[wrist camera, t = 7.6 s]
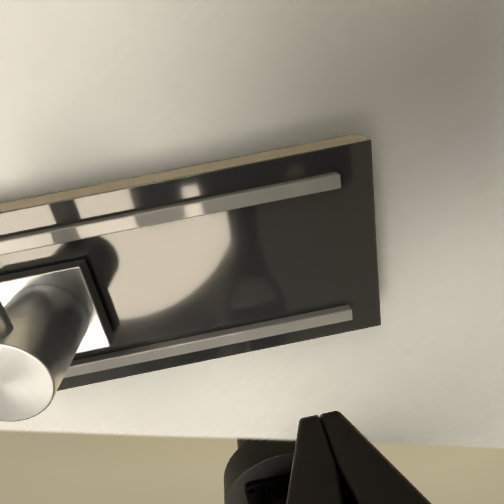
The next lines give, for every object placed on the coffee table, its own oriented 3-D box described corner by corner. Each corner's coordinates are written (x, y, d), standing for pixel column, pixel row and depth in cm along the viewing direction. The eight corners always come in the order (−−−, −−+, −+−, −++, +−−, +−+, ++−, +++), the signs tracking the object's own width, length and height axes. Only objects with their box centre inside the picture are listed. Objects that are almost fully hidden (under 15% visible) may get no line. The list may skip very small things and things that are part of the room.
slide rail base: (366, 304, 21) (385, 331, 19) (35, 371, 21) (13, 406, 19) (355, 133, 18) (375, 141, 16) (-46, 212, 18) (-84, 231, 15)
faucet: (115, 336, 18) (84, 417, 14) (28, 353, 18) (-31, 440, 14) (62, 198, 16) (3, 244, 11) (-40, 218, 16) (-139, 272, 11)
